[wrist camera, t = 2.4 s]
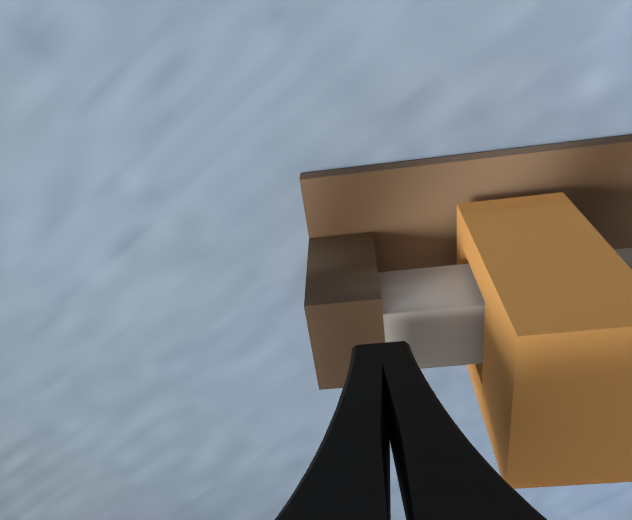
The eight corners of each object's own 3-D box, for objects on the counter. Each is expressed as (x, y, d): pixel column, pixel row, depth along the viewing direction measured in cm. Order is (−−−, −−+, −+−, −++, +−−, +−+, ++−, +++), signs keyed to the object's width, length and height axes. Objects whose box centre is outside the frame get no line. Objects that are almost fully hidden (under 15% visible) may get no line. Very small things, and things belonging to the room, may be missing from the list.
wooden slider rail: (870, 106, 15) (1041, 162, 11) (788, 308, 18) (898, 399, 15) (300, 173, 16) (291, 241, 13) (328, 347, 20) (327, 438, 16)
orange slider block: (562, 192, 15) (678, 322, 10) (547, 323, 18) (634, 481, 13) (456, 203, 16) (517, 336, 10) (456, 331, 18) (505, 489, 13)
